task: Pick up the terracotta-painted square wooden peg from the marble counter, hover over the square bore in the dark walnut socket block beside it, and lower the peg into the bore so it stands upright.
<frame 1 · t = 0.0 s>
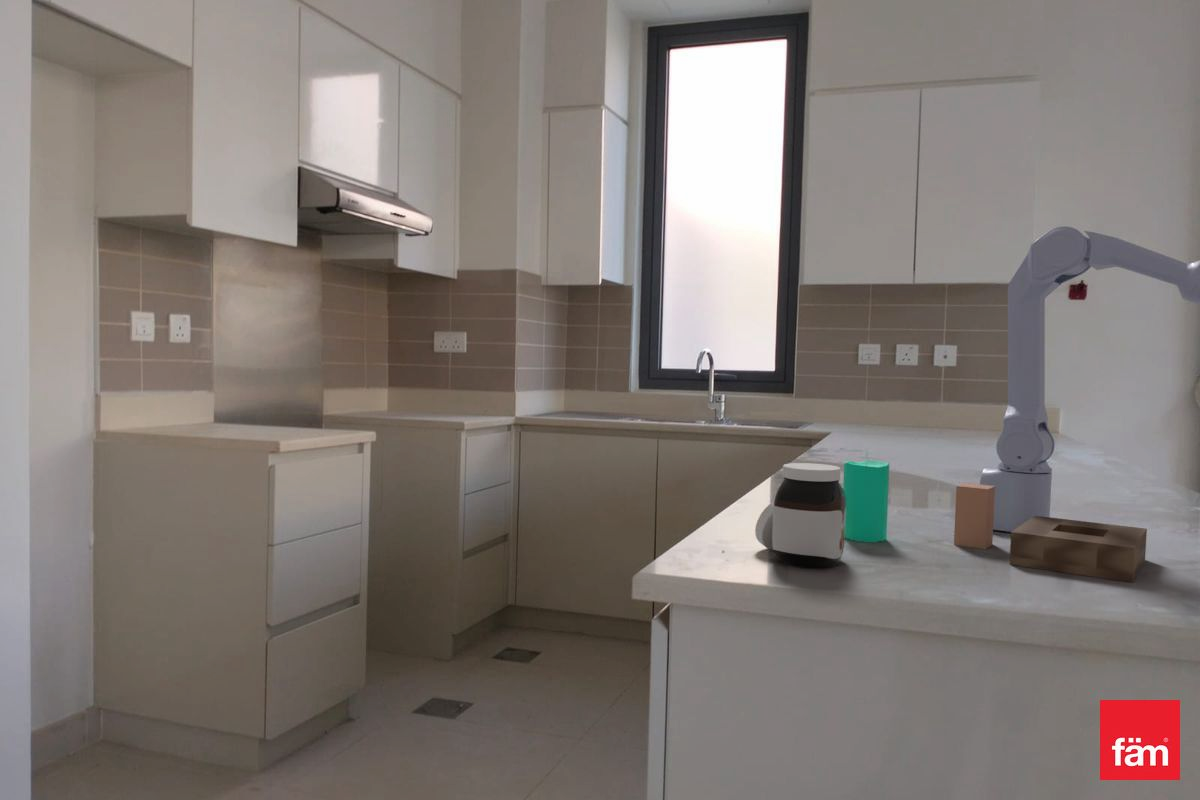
socket block: (1078, 561, 110), on the counter
supplement bottle: (795, 539, 121), on the counter
candle: (863, 539, 122), on the counter
peg: (973, 544, 120), on the counter
spread jar: (796, 559, 109), on the counter
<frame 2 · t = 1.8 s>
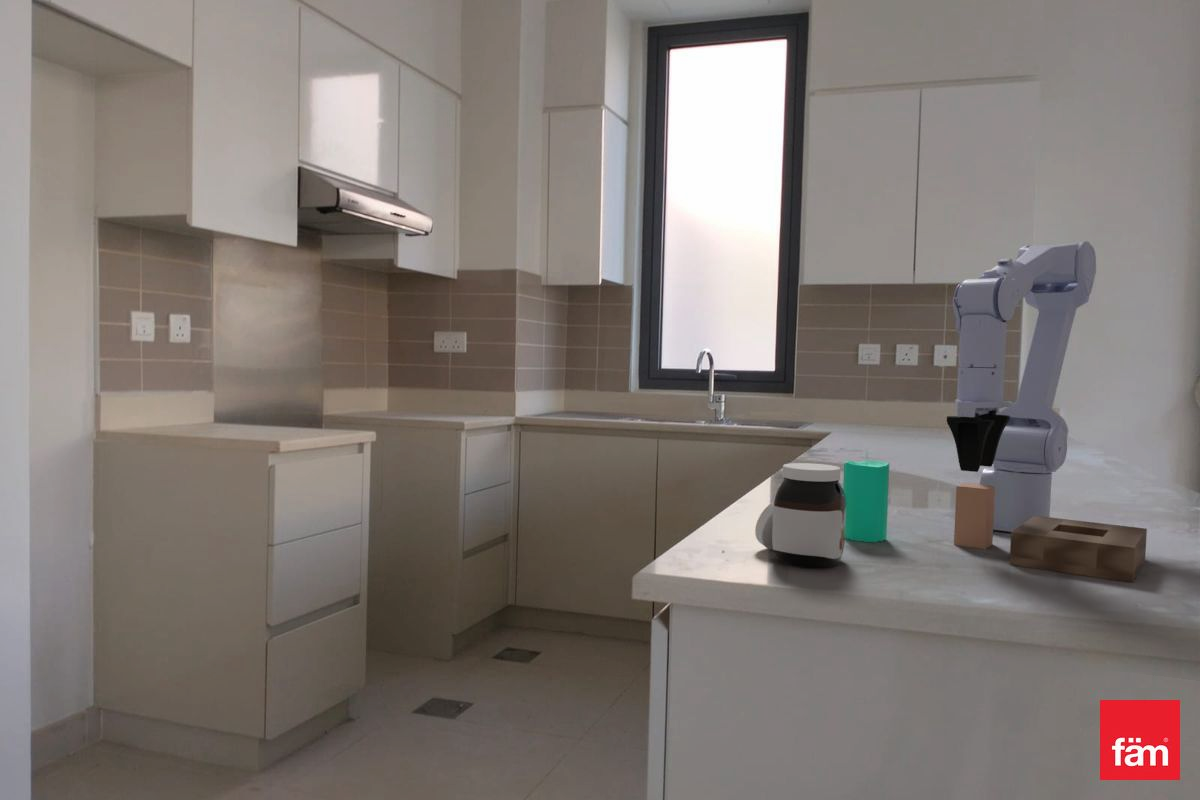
hand: (976, 468, 119), 10 cm above the counter, fingers open, 7 cm apart
nothing on the counter moved.
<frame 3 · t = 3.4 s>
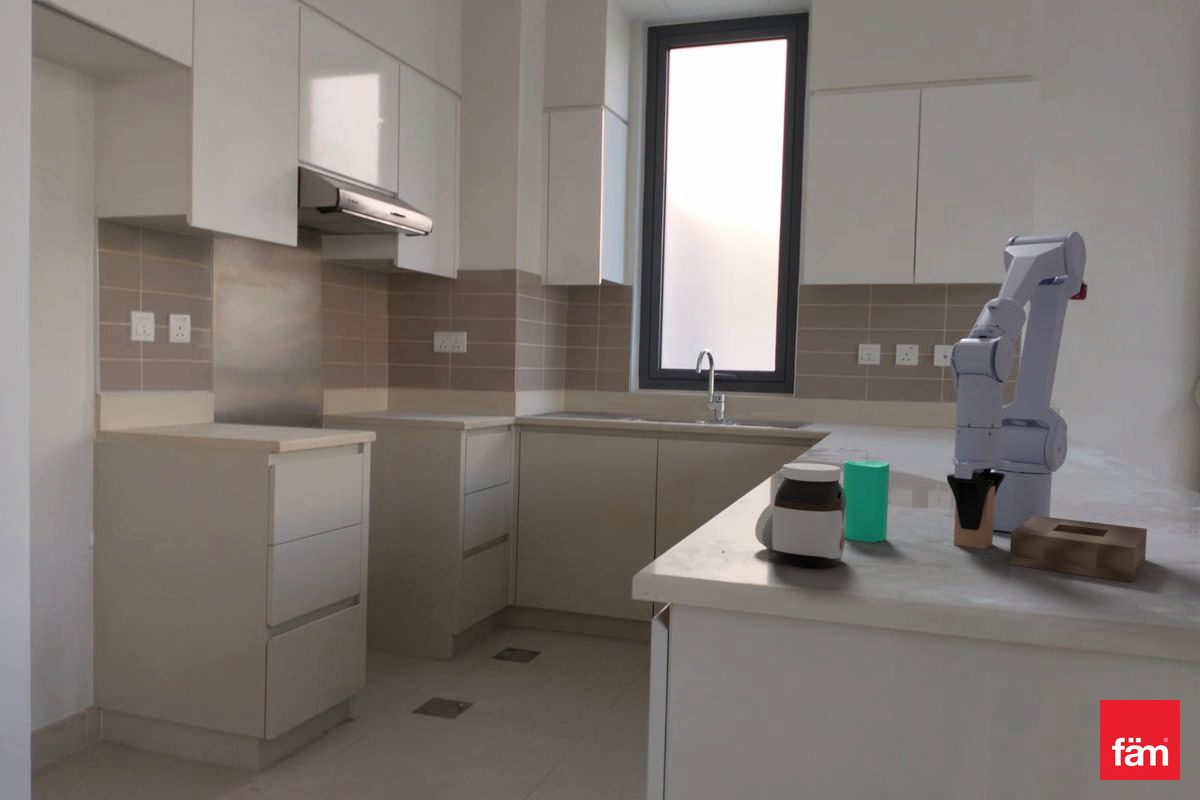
hand: (973, 526, 119), 2 cm above the counter, fingers closed on peg, 4 cm apart
peg: (973, 544, 120), on the counter, touching gripper
everything else where it was.
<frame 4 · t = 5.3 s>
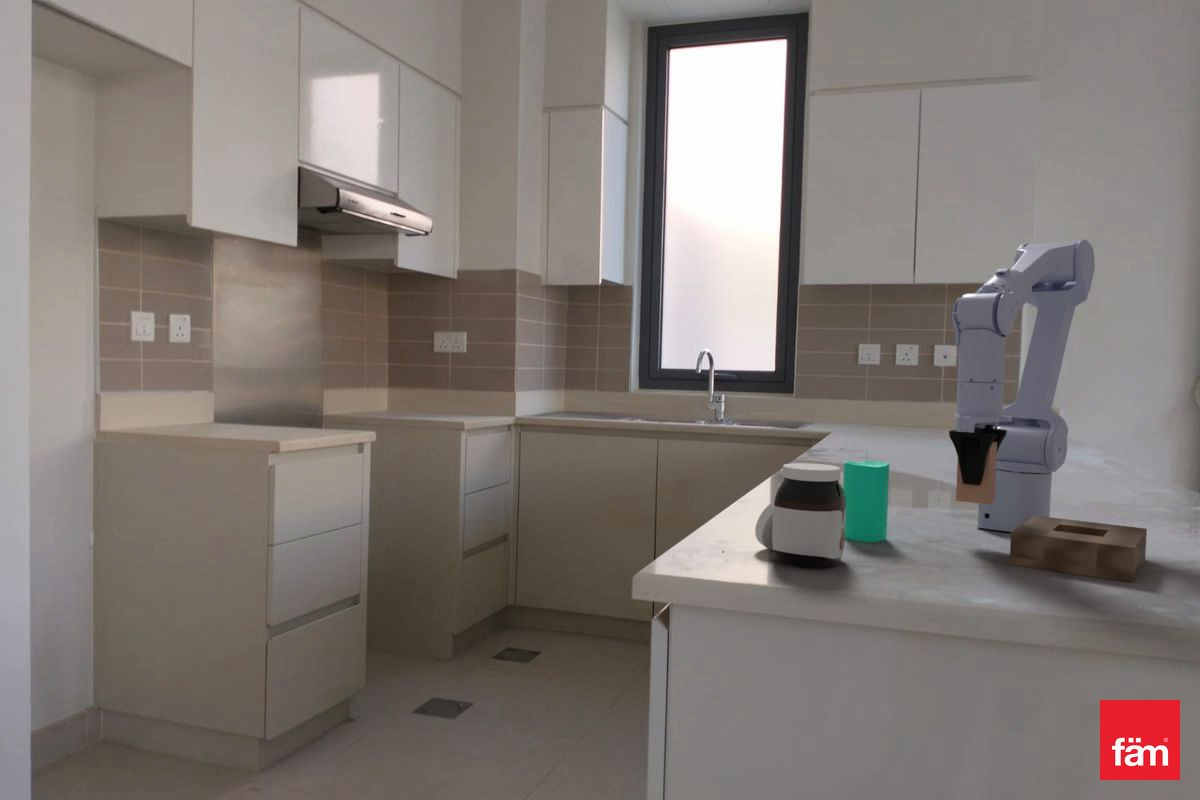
hand: (976, 482, 119), 8 cm above the counter, fingers closed on peg, 4 cm apart
peg: (975, 500, 119), point 6 cm above the counter, touching gripper
everything else where it was.
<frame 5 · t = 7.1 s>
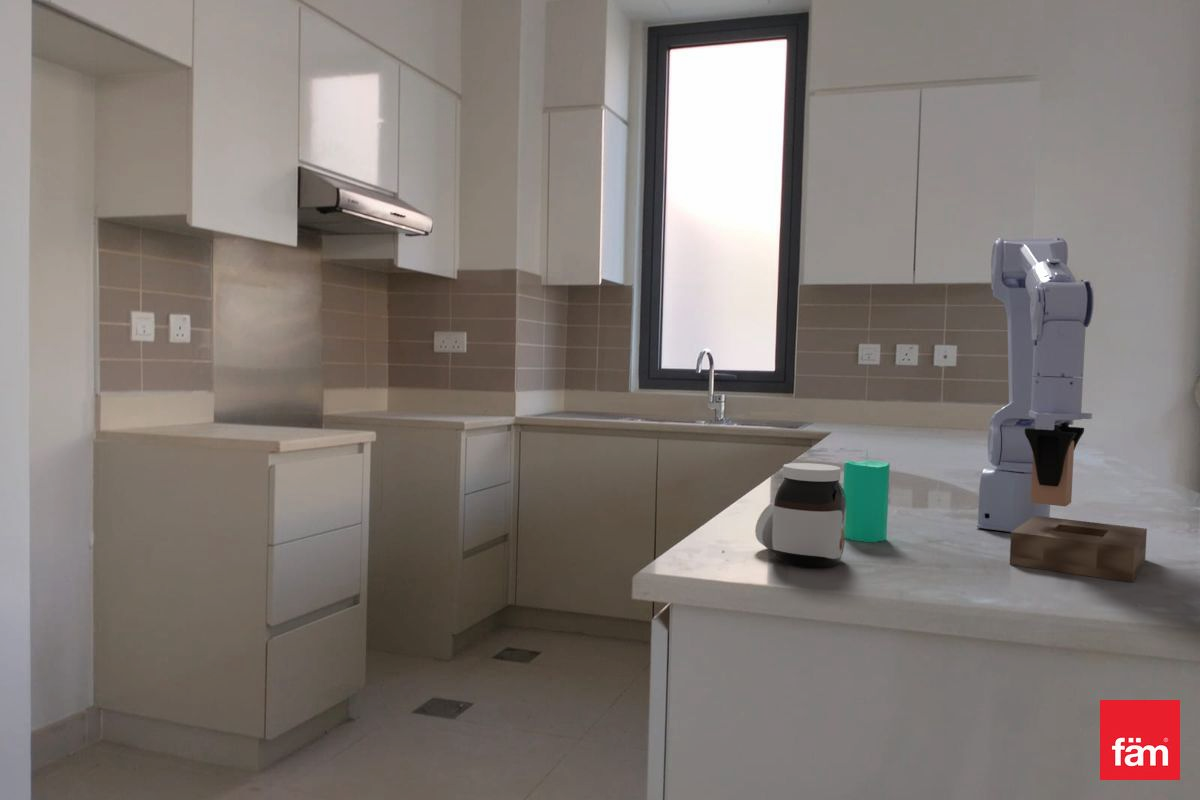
hand: (1052, 483, 112), 9 cm above the counter, fingers closed on peg, 4 cm apart
peg: (1050, 502, 112), point 7 cm above the counter, touching gripper
everything else where it was.
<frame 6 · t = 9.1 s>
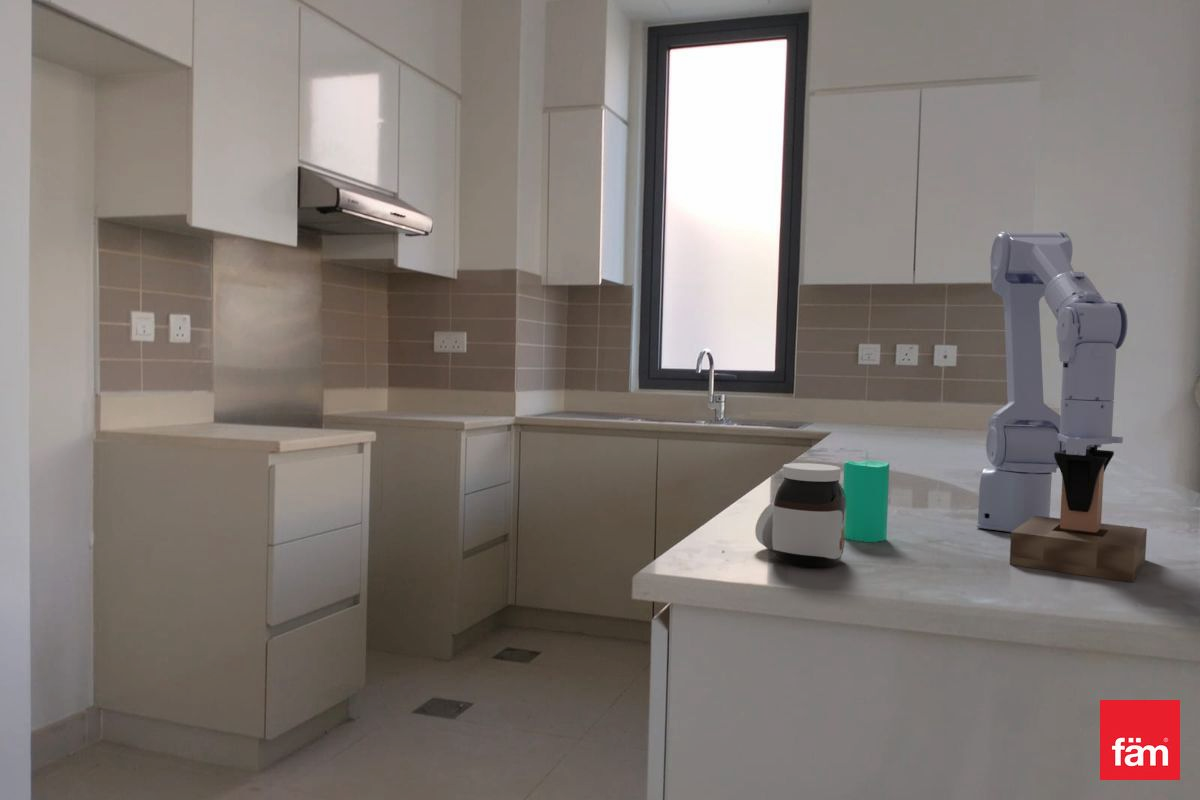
hand: (1081, 508, 110), 7 cm above the counter, fingers closed on peg, 4 cm apart
peg: (1080, 527, 110), point 4 cm above the counter, touching gripper
everything else where it was.
when the fingers open (5 cm above the counter, at t = 10.8 s): peg drops 1 cm, resting on socket block.
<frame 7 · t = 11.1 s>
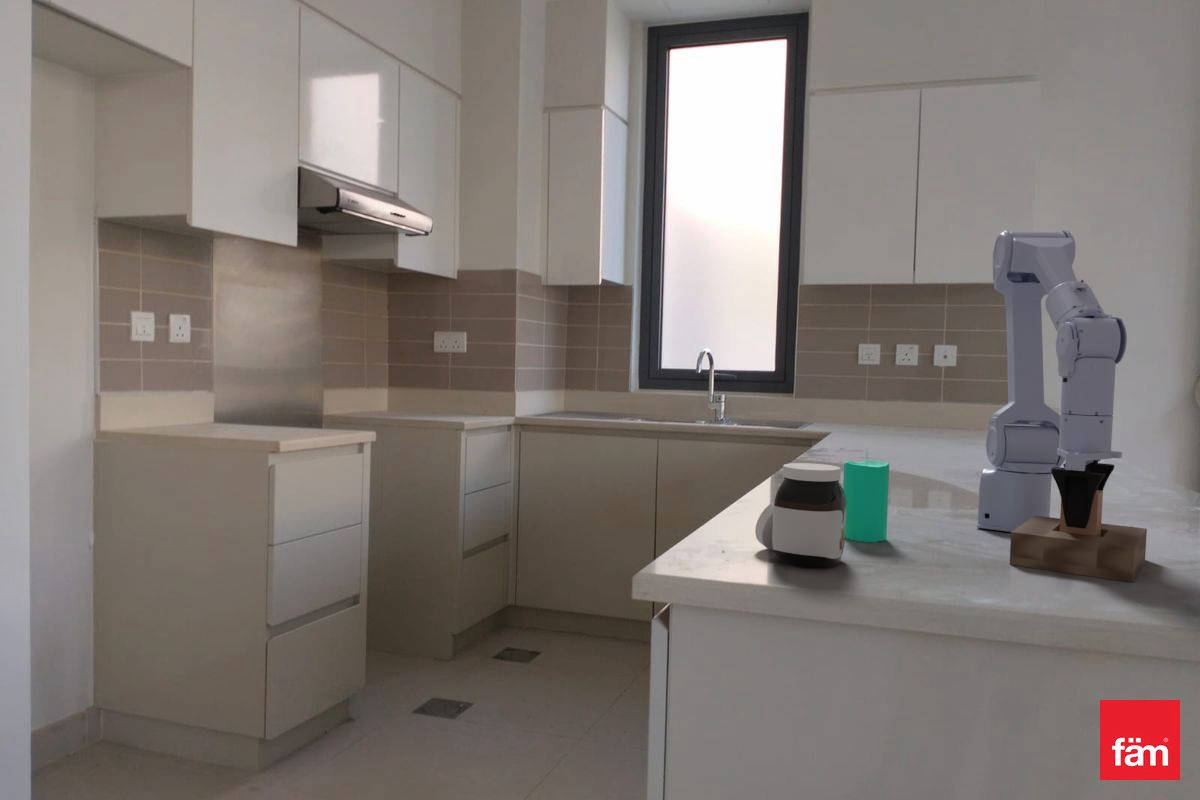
hand: (1080, 523, 110), 5 cm above the counter, fingers open, 7 cm apart
peg: (1079, 554, 110), point 1 cm above the counter, touching socket block
everything else where it was.
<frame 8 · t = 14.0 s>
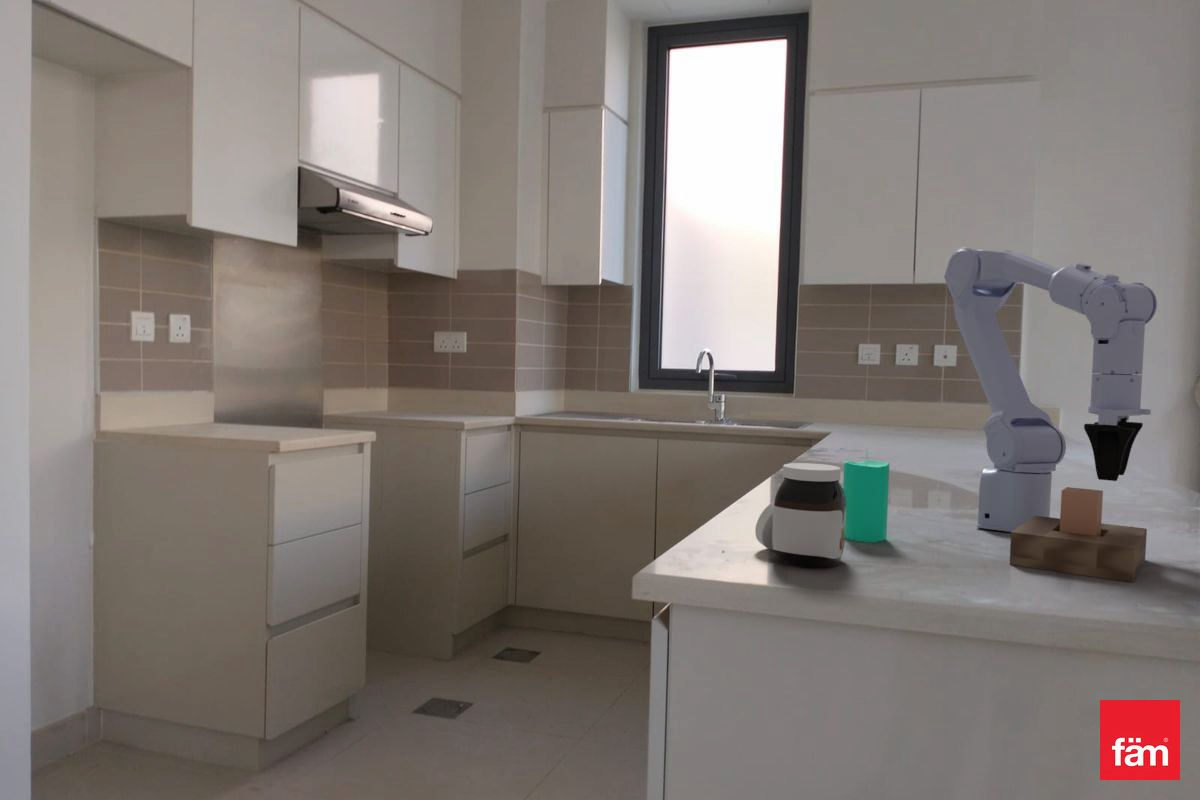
hand: (1111, 477, 117), 10 cm above the counter, fingers open, 7 cm apart
nothing on the counter moved.
at the end: peg 0.0 cm off-centre on the socket block, point 1.0 cm above the socket block's base; peg tilted 0°; the gripper is holding nothing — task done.
